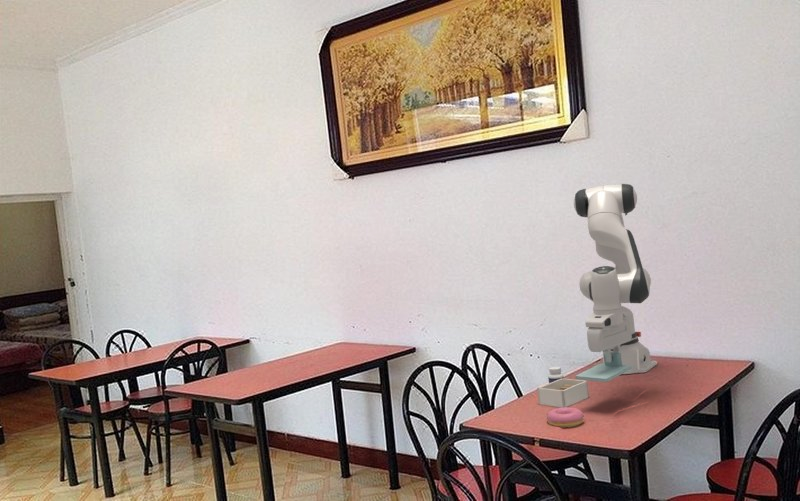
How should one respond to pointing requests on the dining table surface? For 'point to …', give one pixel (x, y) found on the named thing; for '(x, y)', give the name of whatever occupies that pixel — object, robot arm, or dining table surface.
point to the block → (566, 387)
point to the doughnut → (565, 417)
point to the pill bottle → (555, 374)
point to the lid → (605, 370)
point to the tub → (563, 393)
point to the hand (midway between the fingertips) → (612, 360)
